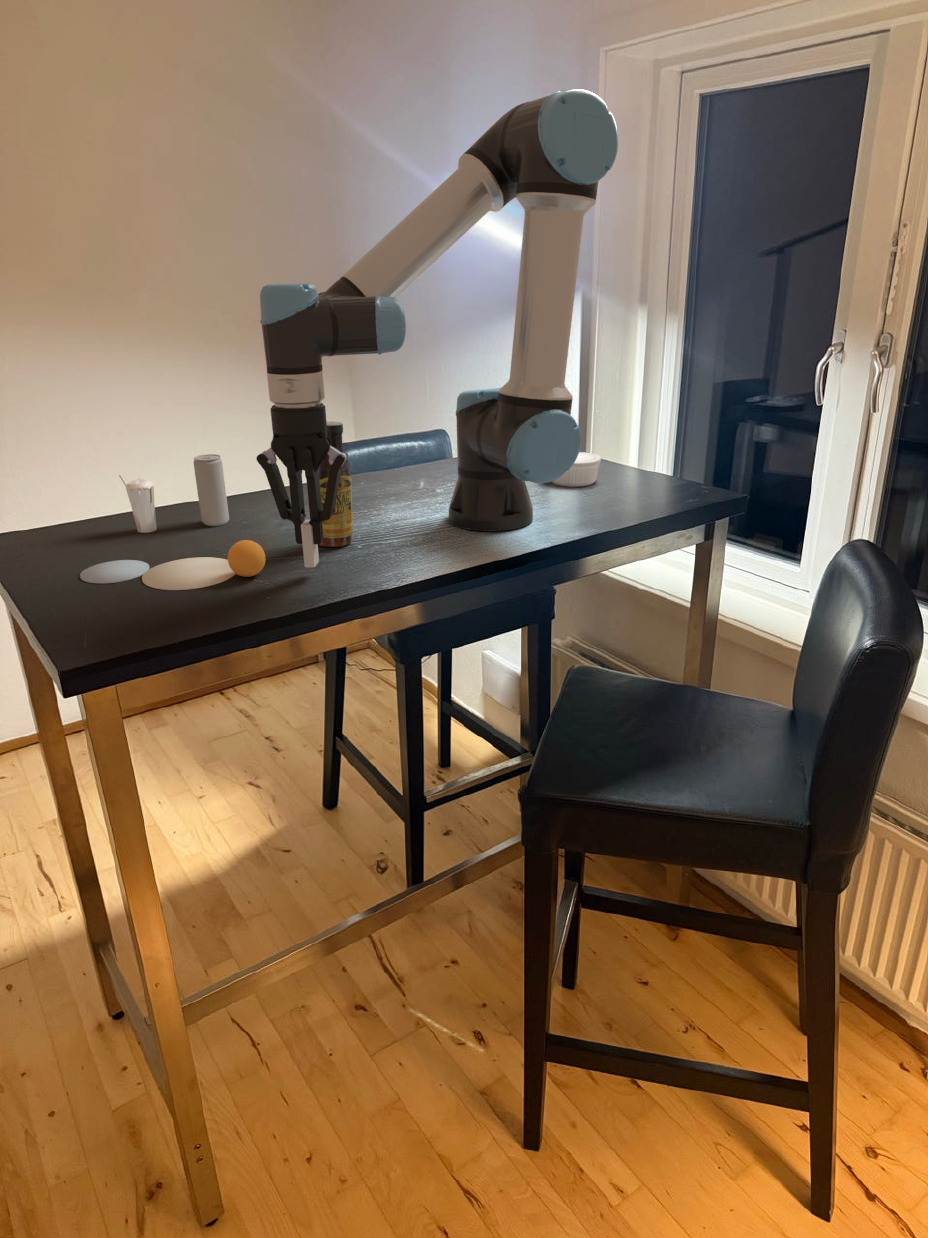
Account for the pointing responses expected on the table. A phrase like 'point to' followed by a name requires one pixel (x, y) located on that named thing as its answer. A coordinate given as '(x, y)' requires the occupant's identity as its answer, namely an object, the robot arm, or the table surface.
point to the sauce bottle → (340, 523)
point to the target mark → (188, 573)
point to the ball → (246, 558)
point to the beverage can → (211, 489)
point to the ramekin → (581, 471)
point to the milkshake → (142, 504)
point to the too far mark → (114, 571)
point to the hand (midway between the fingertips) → (311, 564)
